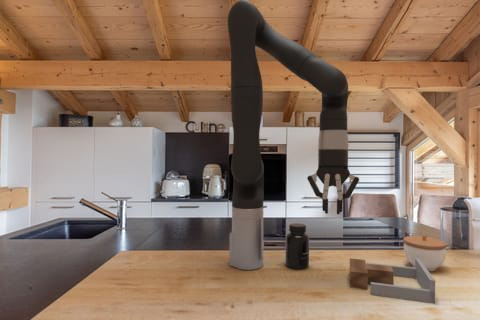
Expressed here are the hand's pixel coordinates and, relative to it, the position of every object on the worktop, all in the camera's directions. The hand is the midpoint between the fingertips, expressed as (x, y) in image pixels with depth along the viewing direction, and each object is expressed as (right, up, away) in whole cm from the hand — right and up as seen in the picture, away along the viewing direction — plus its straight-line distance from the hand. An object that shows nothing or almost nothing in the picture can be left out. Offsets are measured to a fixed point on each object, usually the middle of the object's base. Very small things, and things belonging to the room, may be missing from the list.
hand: (332, 213), depth 82 cm
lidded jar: (+29, -17, +8) cm, 35 cm away
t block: (+9, -17, -3) cm, 20 cm away
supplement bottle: (-8, -17, +9) cm, 21 cm away
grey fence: (+15, -17, -5) cm, 23 cm away
